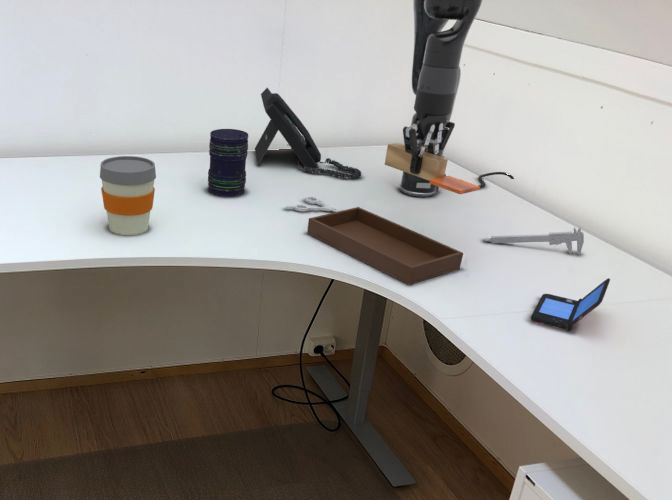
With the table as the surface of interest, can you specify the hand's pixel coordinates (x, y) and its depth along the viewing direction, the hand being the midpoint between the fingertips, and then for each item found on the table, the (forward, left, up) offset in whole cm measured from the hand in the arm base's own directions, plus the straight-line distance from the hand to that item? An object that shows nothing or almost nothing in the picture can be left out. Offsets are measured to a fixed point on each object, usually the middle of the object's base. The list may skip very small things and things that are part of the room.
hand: (420, 171), depth 169 cm
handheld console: (-1, +39, -18) cm, 43 cm away
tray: (+7, -2, -17) cm, 19 cm away
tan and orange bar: (0, +2, -1) cm, 2 cm away
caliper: (-25, +14, -18) cm, 34 cm away
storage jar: (+14, -51, -18) cm, 55 cm away
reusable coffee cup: (+49, -41, -18) cm, 66 cm away
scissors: (0, -26, -18) cm, 31 cm away
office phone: (-21, -60, -18) cm, 66 cm away
